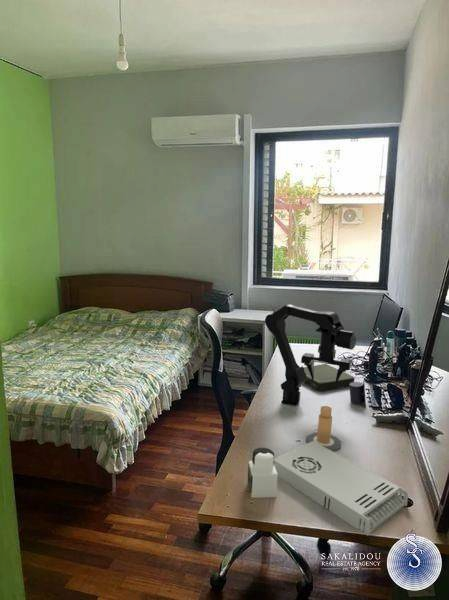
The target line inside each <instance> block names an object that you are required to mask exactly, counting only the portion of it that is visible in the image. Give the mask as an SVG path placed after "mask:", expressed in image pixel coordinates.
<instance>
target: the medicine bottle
mask: <svg viewBox="0 0 449 600" xmlns="http://www.w3.org/2000/svg"><path fill="white" fill-rule="evenodd" d="M274 458H275V452H274V451H273V450H272V449H271V448H268V447H257V448H255V449H254V450H253V452H252V460H249V461H248V467H247V468H248V469H247V486H248V490H249V494H250V498H252V499H259V498H260V499H264V498H265V499H267V498H269V499H270V498H277V494H278V493H277V491H278V490H277V489H278V479H279V477H278V474H277V471H276V469H275V466H274Z"/></svg>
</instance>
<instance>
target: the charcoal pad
mask: <svg viewBox="0 0 449 600" xmlns="http://www.w3.org/2000/svg"><path fill="white" fill-rule="evenodd" d="M317 433H318V431H317V432H311V433H309V434H308V435H306V436H305V442H306V443H305V444H307V443H309V442H312V441H314V442H316V443H318V444H320V445H322V446H323V447H325V448H327V449H329V450H331V451H333V452H336V451H338V450H340V449H341V448H342V441H341V440H340V439H339V438H338V437H337V436H335V435H333V434H331V438H330V443H328V444H322V443H319V442H318V441H317Z"/></svg>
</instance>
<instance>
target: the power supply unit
mask: <svg viewBox="0 0 449 600" xmlns="http://www.w3.org/2000/svg"><path fill="white" fill-rule="evenodd" d="M274 466H275V469H276V471H277V474H278V479H279V478H280V480H283V481H284V482H286V483H287V484H289V485H290V486H292V487H293V488H295V489H296V490H297V491H299V492H301V493H302V494H304V495H305V496H306V497H308V498H310V499H311V500H313V501H314V502H316V503H317V504H319V505H321V506H322V507H325V509H326V510H329V512H331V513H333V514H334V515H335V516H337V517H338V518H340V519H341V520H344V522H346V523H347V524H349V525H351V526H352V527H353V528H355V529H357V530H360V532H361V533H364V535H366V536H369V535H370V533H372V532H373V531H374V530H375V529H376V528H378V527H379V526H380V525H381V524H383V523H384V522H386V521H387V520H388V519H390V518H391V517H392V516H393V515H394V514H396V513H397V512H399V511H400V510H401V509H402V508H403V507H407V506H408V500H409V499H408V498H409V491H407V490H406V489H405V488H403V487H401V486H399V485H397V484H395V483H393V482H391V481H389V480H387V479H386V478H384V477H382V476H381V475H378V474H376V473H375V472H372V471H370V470H368V469H367V468H365V467H363V466H361V465H359V464H357V463H355V462H353V460H352V461H351V460H350V459H348V458H346V457H345V456H342V455H341V454H339V453H337V452H336V451H331V450H329V449H327V448H325V447H323V446H322V445H320V444H318V443H316V442H314V441H312V442H309V443H305V444H303V445H301V446H298V447H297V448H295V449H292V450H290V451H288V452H286V453H283V454H281V455H279V456H276V457H274Z"/></svg>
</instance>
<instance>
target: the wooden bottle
mask: <svg viewBox="0 0 449 600" xmlns="http://www.w3.org/2000/svg"><path fill="white" fill-rule="evenodd" d="M332 411H333V410H332V407H330V406H326V405H322V406H321V407H320V413H319V414H318V422H317V432H318V433H317V432H316V433H317V441H318V442H319V443H322V444H328V443H330V438H331V435H332V424H333V415H332Z"/></svg>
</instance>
